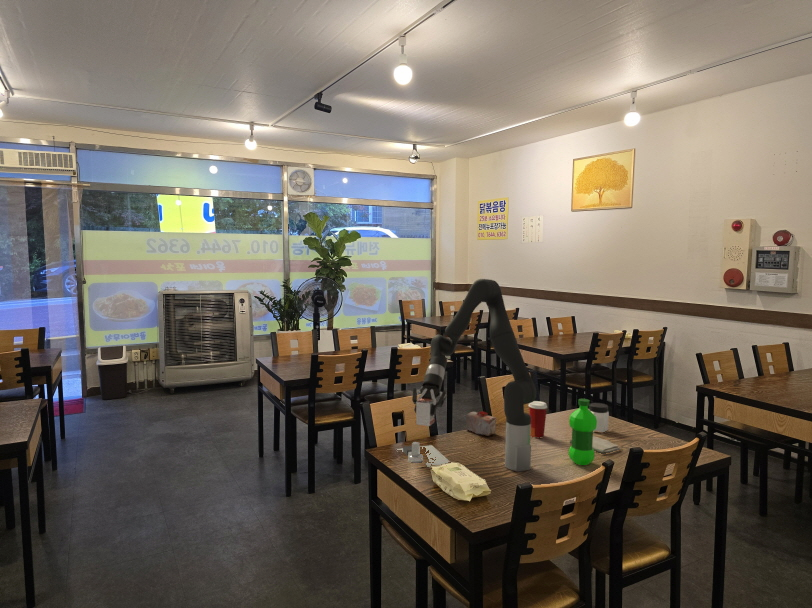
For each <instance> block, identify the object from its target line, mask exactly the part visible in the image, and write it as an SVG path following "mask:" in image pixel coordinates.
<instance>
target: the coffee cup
mask: <svg viewBox="0 0 812 608" xmlns="http://www.w3.org/2000/svg"><path fill="white" fill-rule="evenodd" d="M547 409H548V405H547V403H546V402H544V401H540V400H539V401H538V400H534V401H533V402H531V403H528V411H529V412H528V414H529V415H530V416H531V436H532V437H531V436H530V437H531V438H533V437H539V438H538V439H541V438H540V437H543V436H544V437H545V427H546V418H547ZM544 437H543V438H544Z"/></svg>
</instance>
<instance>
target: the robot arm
mask: <svg viewBox="0 0 812 608" xmlns="http://www.w3.org/2000/svg"><path fill="white" fill-rule="evenodd" d="M482 303H485V304H486V306H487V308H488V313H489V316H490V322H489V323H490V324H489V338H490V341H491V344H492V347H493V349H494V352H495V353H496V355H497V356H498V357H499V359H500V360H501V361H502V362H503V363H504V364H505V365H506V366H507V367H508V368H509V371H510V372H511V375H512V377H513V380H512V381H509V382H507V384H506V385H505V387H504V392H503V405H504V406H503V409H504V411H503V412H504V415H505V419H506V420H505V421H506V423H505V447H504V467H505V468H506V469H509V470H511V471H515V472H524V471H530V470H531V463H532V462H531V461H532V459H531V458H532V445H531V416H530V415H529V413H526V412H525V405H526V404H528V405H529V403H531V402H533V401H536V399H537V388H536V385H535V383H534V381H533V379H532V377H531V374H530V372H529V369H528V368H527V365H526V363H525V360H524V358H523V355H522V353H521V352H522V351H521V350H520V348H519V344H518V340H517V337H516V334H515V332H514V329H513V327H512V324H511V321H510V318H509V316H508V312H507V310H506V305H505V302H504V297H503V293H502V289H501V287H500V285H499V283H498V282H497V281H496V280H493V279H489V278H488V279H486V278H479V279H476V280H475V281H474V282H473V283H472V284H471V286H470V288H469V290H468V291H467V294H466V295H465V297H464V300H463V301H462V303H461V305H460V307H459V309H458V310H457V312H456V314H455V315H454V317H453V318H452V319H451V320H450V322H449V323H448V325H447V326H446V328H445V329H444V332H445V334H446V337H445V336H443V335H441V334H436V335H434V336H433V337H432V338H431V342H430V360H429V363H428V367H427V369H426V372H425V374H424V377H423V382H422V386H421V387H420V388H419V389H418V388H413V389H412V400H411V401H412V404H414V412H415V414H416V401H417V400H418V399H419V398H423V397H424V398H432V399H434V401H433V405H432V408H431V412H430V414H431V416H433V415H434V416H435V414H436V411H437V409H438V408H442V407H443V405H444V403H445V401H446V398H447V397H448V395H447V393H446V391H441V388H442V385H443V381H444V380H445V379H444V378H445V372H446V368H447V366H448V365H447V364H448V359H447V357H450V356H452V355H453V354H454V352H455V350H456V347H457V344H458V342H459V340H460V338H461V337H462V335H463V334H464V333H465V331H466V330H467V329H468V327H469V325H470V323H471V319H472V316H473V313H474V311H475V309H477V307H478V306H479V305H480V304H482ZM447 337H448V338H447ZM419 394H420V395H419ZM439 396H440V397H439ZM438 397H439V399H438V401H437V398H438Z"/></svg>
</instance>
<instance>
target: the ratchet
mask: <svg viewBox="0 0 812 608" xmlns="http://www.w3.org/2000/svg"><path fill="white" fill-rule="evenodd" d="M420 444H421V443H420V442H418V441H413V442H412V443H411V445H406V446H402V448H403V452H404V453H405V454H406V455H407V456H408V461H409V462H411V463H422V462H423V455H422V454H420V446H421V445H420Z"/></svg>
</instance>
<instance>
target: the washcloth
mask: <svg viewBox="0 0 812 608" xmlns="http://www.w3.org/2000/svg"><path fill="white" fill-rule="evenodd" d="M569 443H570V444H571V443H572V438H571V439H569ZM592 448H593V450H594V451H596V452H598V453H601V454H606V453H610V452H613V451H617V450H620V451H621V448H620V447H619V445H618V444H615V443H612V441H610V440H606V439H604V438H601V437H597V436H596V435H595V436H594V435H593V442H592Z"/></svg>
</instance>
